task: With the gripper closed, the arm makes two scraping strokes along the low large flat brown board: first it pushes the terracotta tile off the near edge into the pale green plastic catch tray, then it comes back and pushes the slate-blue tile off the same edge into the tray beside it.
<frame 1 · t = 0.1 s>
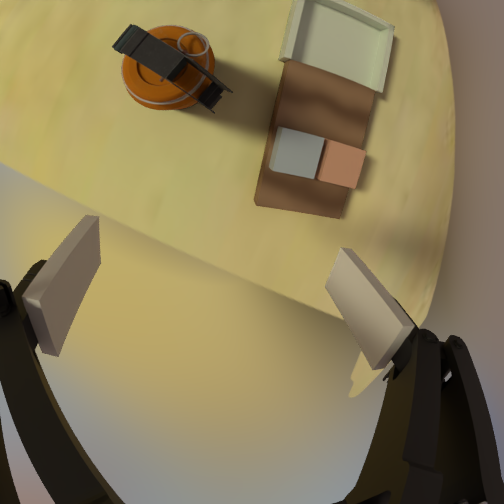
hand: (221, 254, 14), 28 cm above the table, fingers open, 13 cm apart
tile b: (293, 150, 37), point 2 cm above the table, touching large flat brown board
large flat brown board: (313, 140, 39), on the table
canister: (185, 83, 32), on the table
tile a: (336, 161, 39), point 2 cm above the table, touching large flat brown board
tray: (336, 40, 31), on the table
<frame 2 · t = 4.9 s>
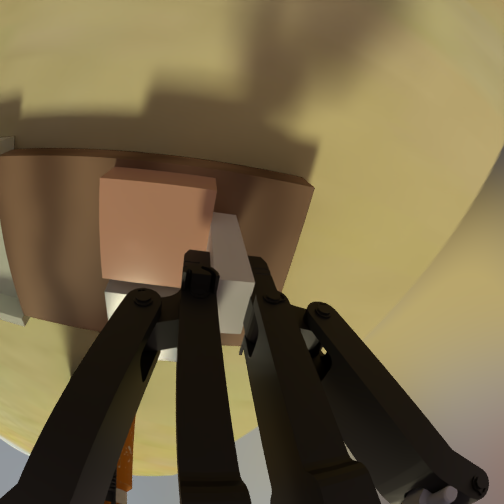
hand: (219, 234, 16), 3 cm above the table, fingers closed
tile b: (155, 307, 19), point 2 cm above the table, touching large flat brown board
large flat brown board: (135, 246, 19), on the table
canister: (106, 384, 28), on the table
tile a: (158, 219, 16), point 3 cm above the table, touching gripper
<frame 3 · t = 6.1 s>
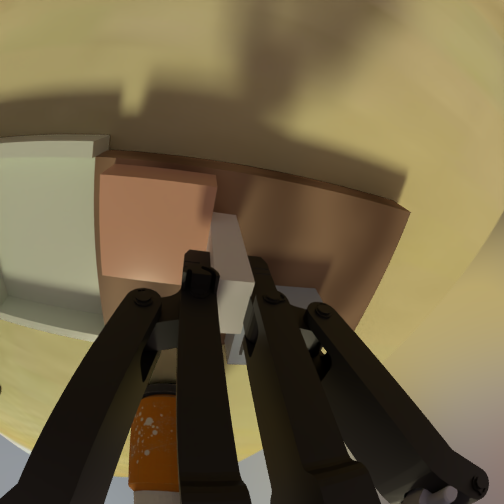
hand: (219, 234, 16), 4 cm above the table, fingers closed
tile b: (268, 316, 21), point 2 cm above the table, touching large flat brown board
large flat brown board: (248, 258, 21), on the table
canister: (174, 393, 30), on the table
tile a: (158, 216, 16), point 3 cm above the table, touching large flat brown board, gripper
tray: (38, 234, 17), on the table
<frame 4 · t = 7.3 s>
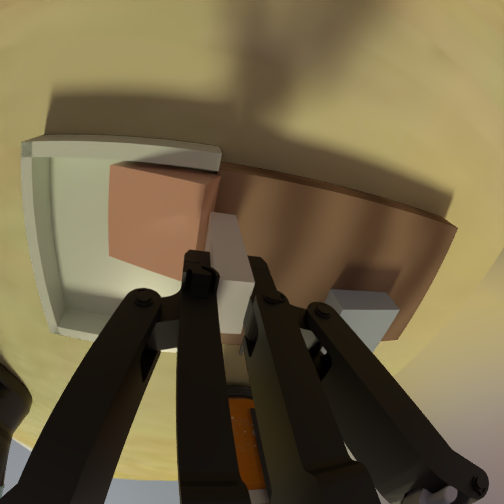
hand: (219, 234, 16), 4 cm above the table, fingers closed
tile b: (346, 317, 23), point 2 cm above the table, touching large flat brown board
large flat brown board: (331, 267, 23), on the table
canister: (233, 395, 31), on the table
tile a: (168, 211, 17), point 2 cm above the table, tilted 20°, touching gripper
tray: (117, 243, 19), on the table
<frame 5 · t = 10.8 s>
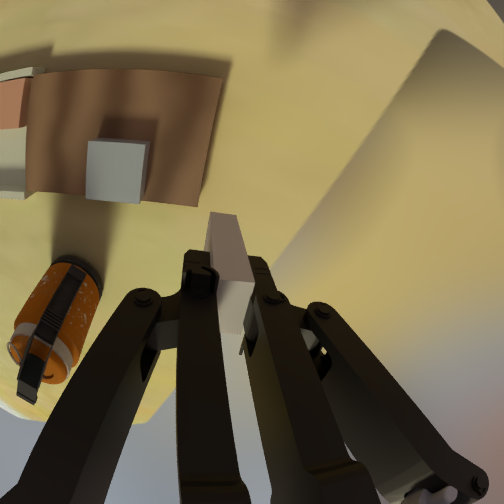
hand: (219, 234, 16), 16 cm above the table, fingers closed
tile b: (120, 166, 26), point 2 cm above the table, touching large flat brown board
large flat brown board: (113, 131, 26), on the table
canister: (79, 274, 34), on the table
tile a: (15, 103, 20), resting on tray
tray: (2, 133, 21), on the table
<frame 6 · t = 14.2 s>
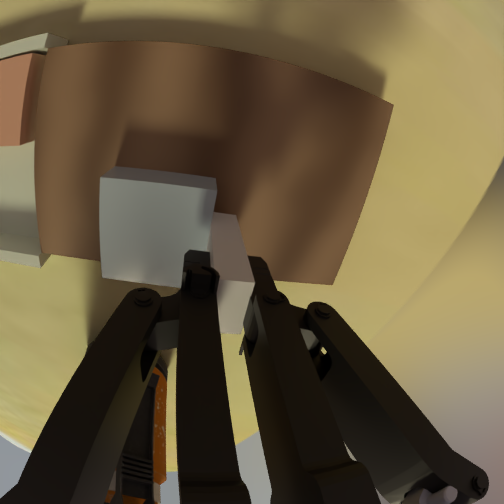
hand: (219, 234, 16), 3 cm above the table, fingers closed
tile b: (158, 219, 16), point 3 cm above the table, touching gripper
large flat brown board: (200, 159, 17), on the table
canister: (130, 355, 25), on the table
tile a: (14, 100, 11), resting on tray
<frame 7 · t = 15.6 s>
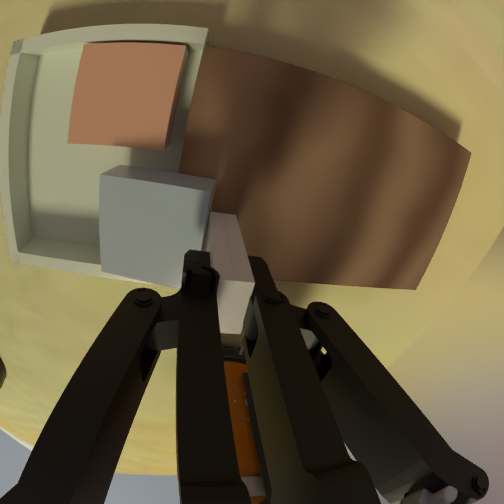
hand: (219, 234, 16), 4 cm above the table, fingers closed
tile b: (160, 218, 16), point 2 cm above the table, tilted 9°, touching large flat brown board, gripper
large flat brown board: (336, 185, 19), on the table
canister: (224, 362, 28), on the table
tile a: (132, 94, 14), resting on tray
tray: (91, 149, 15), on the table
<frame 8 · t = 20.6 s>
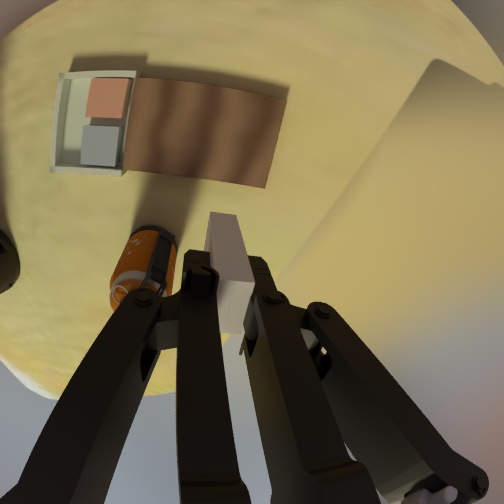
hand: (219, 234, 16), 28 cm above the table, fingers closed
tile b: (104, 143, 36), resting on tray
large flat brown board: (201, 130, 38), on the table
canister: (155, 242, 47), on the table
tile a: (111, 97, 33), resting on tray
tray: (94, 121, 34), on the table
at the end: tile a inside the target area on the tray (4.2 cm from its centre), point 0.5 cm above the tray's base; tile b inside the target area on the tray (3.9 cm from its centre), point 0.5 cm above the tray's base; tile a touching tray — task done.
